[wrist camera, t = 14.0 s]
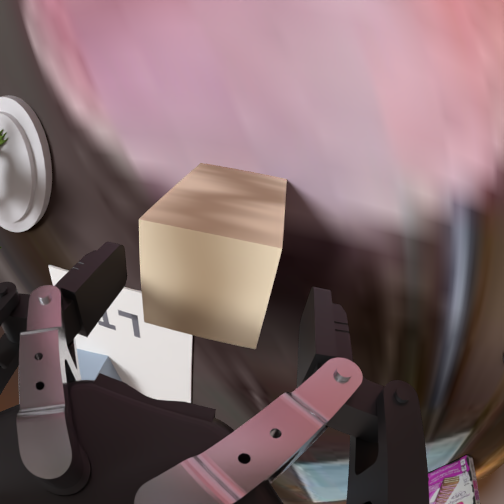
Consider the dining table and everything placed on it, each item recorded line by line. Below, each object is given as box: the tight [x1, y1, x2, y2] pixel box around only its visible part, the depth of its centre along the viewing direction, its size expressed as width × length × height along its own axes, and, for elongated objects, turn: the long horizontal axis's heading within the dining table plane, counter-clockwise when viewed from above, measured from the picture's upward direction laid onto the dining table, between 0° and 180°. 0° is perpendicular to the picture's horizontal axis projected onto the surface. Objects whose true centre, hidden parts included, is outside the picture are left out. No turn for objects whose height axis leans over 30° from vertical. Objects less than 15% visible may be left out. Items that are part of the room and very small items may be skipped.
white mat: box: [49, 265, 193, 403], centre depth 26 cm, size 14×16×1 cm
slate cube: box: [77, 349, 122, 381], centre depth 27 cm, size 5×5×5 cm
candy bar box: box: [428, 455, 480, 504], centre depth 32 cm, size 11×5×16 cm, turn 140°
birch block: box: [139, 163, 287, 349], centre depth 15 cm, size 5×5×8 cm
